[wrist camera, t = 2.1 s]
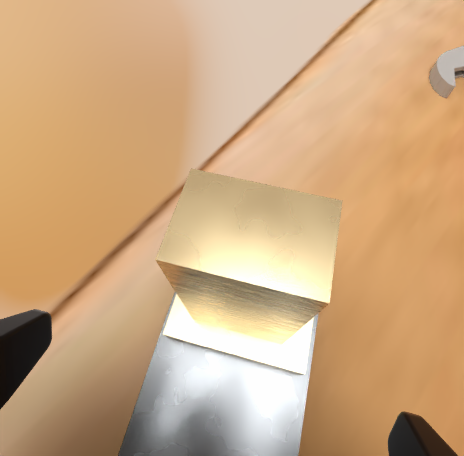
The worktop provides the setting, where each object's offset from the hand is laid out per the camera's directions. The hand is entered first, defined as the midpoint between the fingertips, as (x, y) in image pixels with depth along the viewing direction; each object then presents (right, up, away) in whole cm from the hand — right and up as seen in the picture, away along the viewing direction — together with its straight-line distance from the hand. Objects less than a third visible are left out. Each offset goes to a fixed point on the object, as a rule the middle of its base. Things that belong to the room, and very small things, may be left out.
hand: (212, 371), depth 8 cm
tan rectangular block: (+1, -1, +10) cm, 10 cm away
